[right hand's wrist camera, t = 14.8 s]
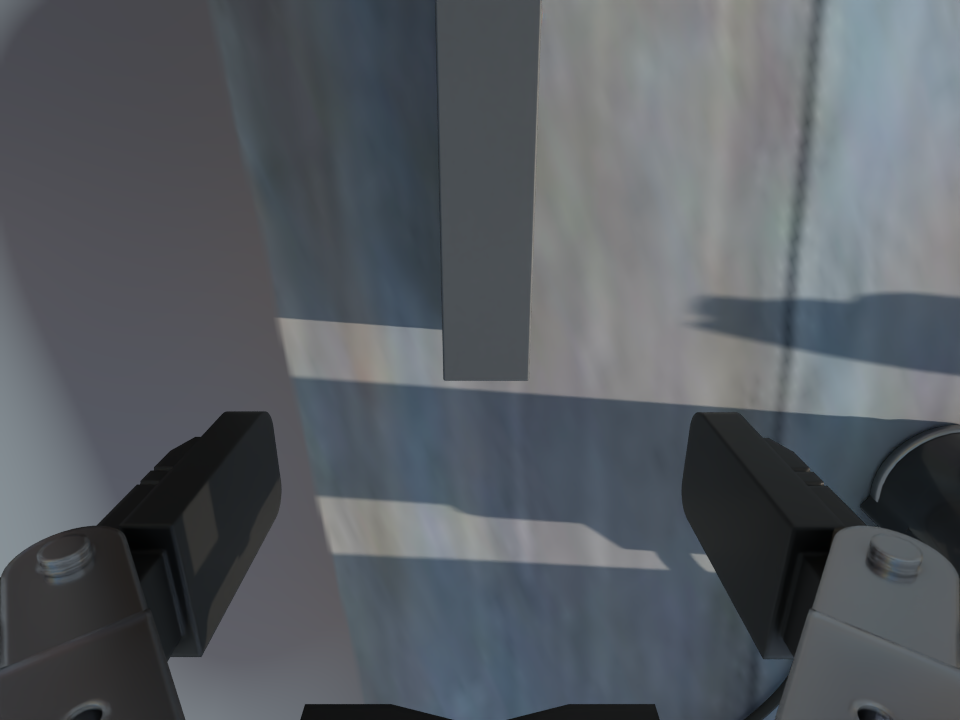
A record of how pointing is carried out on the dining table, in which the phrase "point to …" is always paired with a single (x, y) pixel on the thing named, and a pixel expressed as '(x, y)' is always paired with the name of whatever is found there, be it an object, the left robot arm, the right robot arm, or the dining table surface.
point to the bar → (487, 183)
